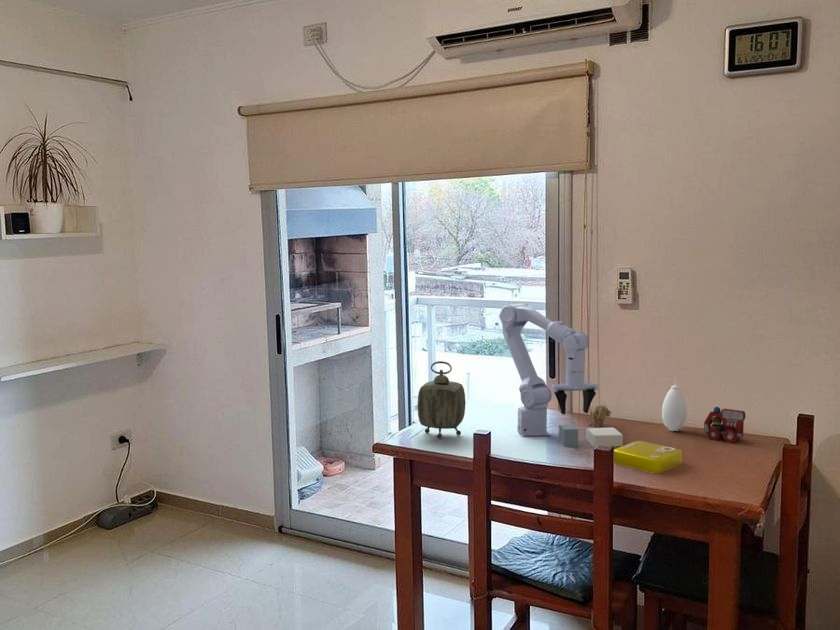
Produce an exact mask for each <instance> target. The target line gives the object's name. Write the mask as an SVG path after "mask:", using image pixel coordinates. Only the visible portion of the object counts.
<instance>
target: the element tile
mask: <svg viewBox="0 0 840 630" xmlns="http://www.w3.org/2000/svg"><path fill="white" fill-rule="evenodd" d="M613 463H614V464H615V463H616V464H615V465H618V464H621V465H620V466H622V465H625V466H624V467H626V466H629V467H628V468H630V467H633V468H636V469H635V470H637V469H641V470H645V471H648V472H647V473H649V472H653V473H652V474H654V473H661V474H663V472H664V471H666V472H668V471H670V470H672V469H674V468H673V467H675V468H677V467H679V466H681V465H682V464H681V463H683V451H682V449H680V448H675V447H671V446H666V445H661V444H657V443H654V442H653V443H652V442H647V441H645V440H644V441H643V440H636V441H632V442H630V443H627V444H625V445H624V444H623V446H621V447H615V448H614V449H613ZM680 464H681V465H680ZM678 465H679V466H678ZM676 466H677V467H676ZM633 468H632V469H633ZM671 468H672V469H671ZM669 469H670V470H669ZM641 470H640V471H641ZM667 470H668V471H667ZM645 471H644V472H645ZM664 473H665V472H664Z"/></svg>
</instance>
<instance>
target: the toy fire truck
mask: <svg viewBox="0 0 840 630" xmlns="http://www.w3.org/2000/svg"><path fill="white" fill-rule="evenodd" d="M745 419H746V412H745V411H744V410H739V409H733V408H722V409H721V408H720V407H718V406H715V407H714V408H713V411H710V412H709V414H708V415H707V417H706V419H705V420H704V422H703V423H704V424H703V431H704V433H705V434H707V437H708V438H709V440H711V439H712V441H717V440H719V439H721V437H722V438H723V440H724V442H726V443H728V442H731V443H730V444H733V443H735V442H736V441H737V440H739V439H741V438H743V437H744V428H745V426H744V421H745Z"/></svg>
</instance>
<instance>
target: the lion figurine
mask: <svg viewBox="0 0 840 630" xmlns="http://www.w3.org/2000/svg"><path fill="white" fill-rule="evenodd" d="M610 415H612V411H611V410H609V409H608V408H607V405H605V404H602V405H598V406H596V405H594V406H591V408H590V409H589V419H588V421H589V423H588V426H593V428H598V425H597V424H599V423H600V424H599V428H604V422H605V420H606V419H607V417H608V418H610ZM592 423H593V424H592Z"/></svg>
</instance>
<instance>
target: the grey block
mask: <svg viewBox="0 0 840 630" xmlns="http://www.w3.org/2000/svg"><path fill="white" fill-rule="evenodd" d="M558 442H559V443H560V444H561V445H562V446H563V447H579V428H578V427H577V426H575V424H570V423H569V424H559V425H558Z"/></svg>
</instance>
